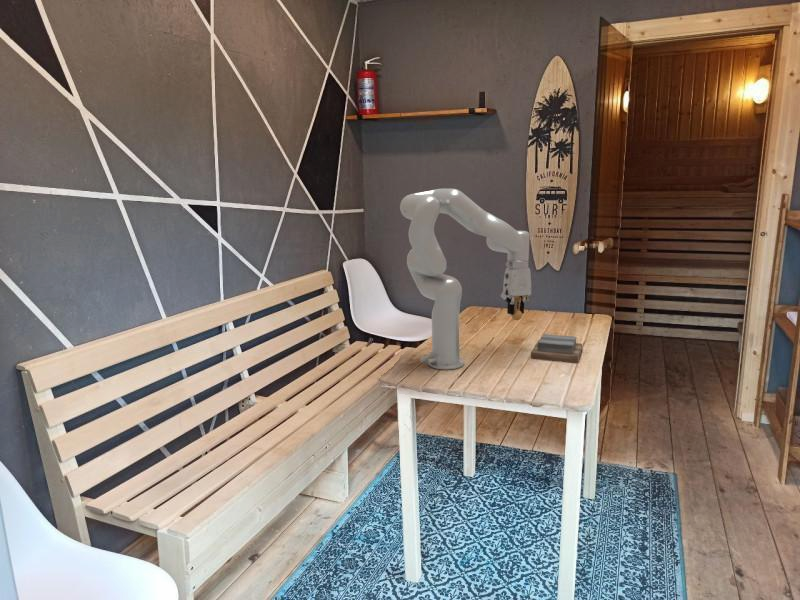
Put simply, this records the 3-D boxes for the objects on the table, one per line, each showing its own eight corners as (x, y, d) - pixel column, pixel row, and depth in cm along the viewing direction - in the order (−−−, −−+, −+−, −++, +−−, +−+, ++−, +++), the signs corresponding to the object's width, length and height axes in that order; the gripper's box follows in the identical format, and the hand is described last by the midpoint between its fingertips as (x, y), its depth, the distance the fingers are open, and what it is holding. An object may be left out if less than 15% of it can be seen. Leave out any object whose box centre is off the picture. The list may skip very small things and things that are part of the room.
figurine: (504, 320, 209) (504, 289, 207) (508, 316, 215) (507, 286, 212) (526, 322, 206) (526, 290, 204) (530, 317, 212) (530, 286, 209)
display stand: (577, 363, 195) (578, 348, 194) (530, 358, 202) (531, 343, 200) (581, 350, 210) (582, 335, 209) (538, 346, 216) (538, 332, 215)
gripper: (506, 267, 199) (504, 318, 202) (542, 264, 207) (539, 313, 210) (493, 264, 205) (491, 313, 209) (528, 262, 213) (525, 309, 217)
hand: (515, 312), depth 210 cm, fingers closed on figurine, 3 cm apart
